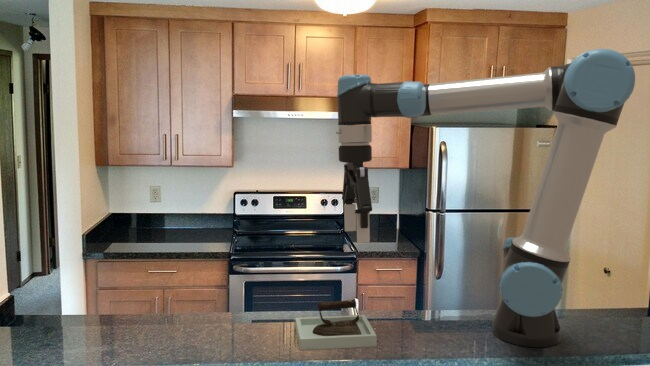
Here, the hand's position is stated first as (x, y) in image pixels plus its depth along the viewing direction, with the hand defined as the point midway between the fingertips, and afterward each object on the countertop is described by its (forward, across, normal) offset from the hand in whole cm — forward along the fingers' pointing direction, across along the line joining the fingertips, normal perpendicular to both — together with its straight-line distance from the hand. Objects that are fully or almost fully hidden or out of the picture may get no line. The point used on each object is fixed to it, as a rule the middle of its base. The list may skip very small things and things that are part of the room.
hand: (356, 236), depth 126 cm
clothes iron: (+22, +1, -6) cm, 23 cm away
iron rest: (+23, +1, -6) cm, 24 cm away
